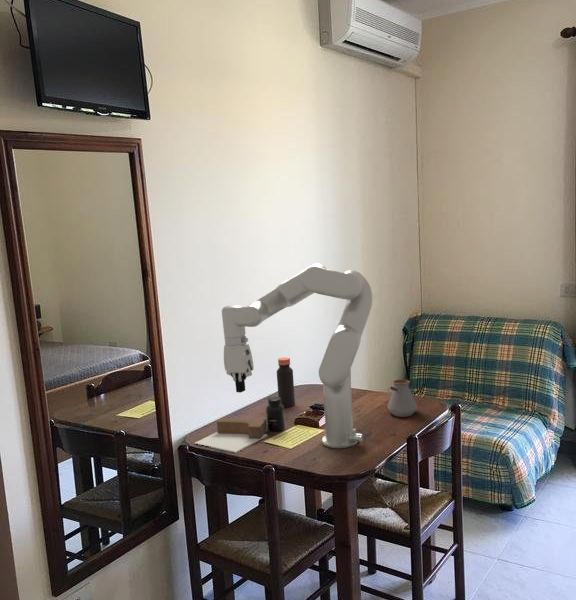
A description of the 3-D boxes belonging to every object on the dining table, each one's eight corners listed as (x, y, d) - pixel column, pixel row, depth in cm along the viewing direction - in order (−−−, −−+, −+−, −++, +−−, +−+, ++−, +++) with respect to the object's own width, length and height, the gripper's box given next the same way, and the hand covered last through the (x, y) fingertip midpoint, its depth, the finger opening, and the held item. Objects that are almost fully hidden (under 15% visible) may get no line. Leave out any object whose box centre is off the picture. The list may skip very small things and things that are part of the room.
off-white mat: (267, 435, 222) (267, 434, 222) (235, 453, 208) (235, 451, 208) (227, 428, 233) (227, 426, 233) (194, 444, 219) (194, 442, 218)
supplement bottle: (269, 433, 224) (267, 402, 223) (265, 427, 231) (262, 397, 229) (287, 430, 226) (285, 399, 225) (282, 425, 233) (280, 394, 231)
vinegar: (292, 407, 253) (289, 360, 250) (276, 407, 255) (273, 360, 252) (296, 402, 259) (294, 356, 256) (281, 402, 261) (278, 356, 259)
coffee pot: (392, 408, 245) (390, 371, 243) (420, 410, 240) (419, 373, 238) (376, 425, 226) (375, 386, 224) (407, 428, 221) (406, 388, 219)
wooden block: (259, 427, 217) (212, 426, 222) (260, 439, 218) (213, 438, 222) (266, 418, 226) (220, 417, 230) (267, 430, 227) (221, 429, 231)
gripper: (258, 339, 212) (264, 390, 215) (226, 337, 221) (231, 386, 223) (245, 343, 206) (251, 396, 209) (212, 342, 215) (218, 392, 217)
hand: (240, 391), depth 216 cm, fingers closed
